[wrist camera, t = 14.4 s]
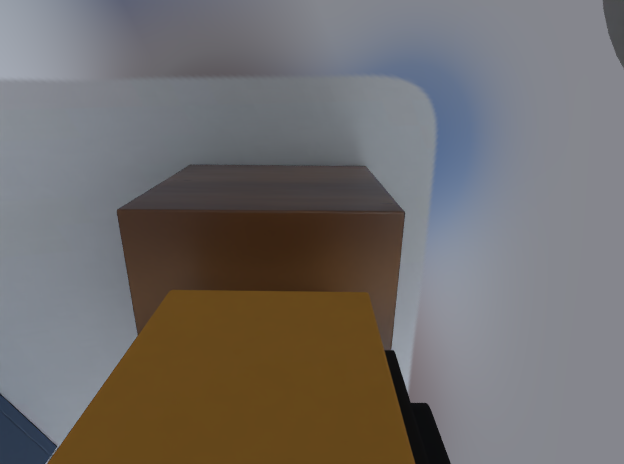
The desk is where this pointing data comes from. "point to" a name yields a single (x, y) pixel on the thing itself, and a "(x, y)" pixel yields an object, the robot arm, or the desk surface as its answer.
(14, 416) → the blue hinged box
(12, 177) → the desk surface
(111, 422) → the mustard yellow cube
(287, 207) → the brown cube
